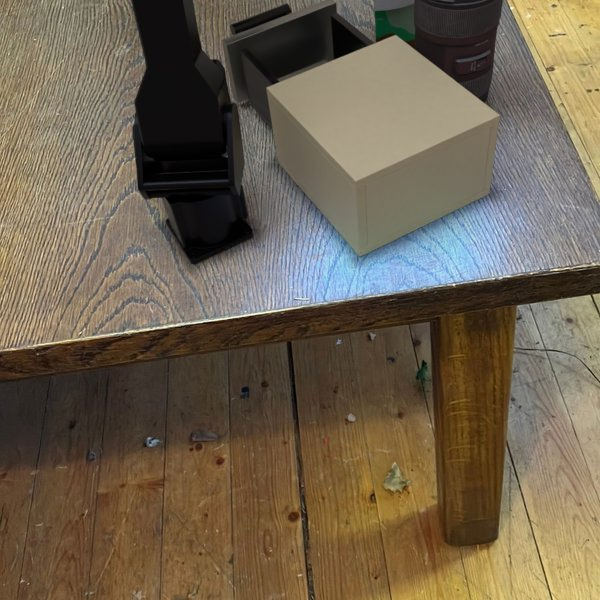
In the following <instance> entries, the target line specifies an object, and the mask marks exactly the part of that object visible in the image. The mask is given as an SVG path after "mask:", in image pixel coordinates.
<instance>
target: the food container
mask: <svg viewBox="0 0 600 600" xmlns="http://www.w3.org/2000/svg"><path fill="white" fill-rule="evenodd" d="M373 11H374V25H375V28H374V29H375V43H377V42H379V41H382V40H384V39H387V38H389V37H392V36H394V35H397V36H398V37H399V38H400V39H402V40H403V41H404V42H406V43H407V44H408V45H409V46H411V47H412V48H413V49H414V44H415V26H414V0H373Z"/></svg>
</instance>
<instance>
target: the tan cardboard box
mask: <svg viewBox="0 0 600 600" xmlns="http://www.w3.org/2000/svg"><path fill="white" fill-rule="evenodd" d="M374 43H375V44H372V45H370V46H367V47H365V48H362V49H360V50H357V51H355V52H352V53H350V54H348V55H345V56H343V57H340V58H338V59H335V60H333V61H330V62H328V63H325V64H323V65H321V66H318V67H316V68H313V69H311V70H308V71H306V72H303V73H301V74H298V75H296V76H294V77H291V78H289V79H286V80H284V81H281V82H279V83H276V84H274V85H271V86H269V87H267V88H266V90H267V95H268V102H269V109H270V115H271V121H272V127H273V130H272V134H273V139H274V145H275V151H276V156H277V163H278V165H280V167H281V168H282V169H283V170H284V171H285V173H286V174H288V176H289V177H290V178H291V180H293V182H294V183H295V184H296V185H297V186H298V187H299V189H300V190H301V191H302V192H303V193H304V194H305V196H306V197H307V198H308V199H309V200H310V202H312V204H313V205H314V206H315V207H316V209H318V211H320V212H321V214H322V216H324V217H325V219H326V220H327V221H328V222H329V223H330V225H332V227H333V228H334V229H335V231H337V232H338V234H339V235H340V236H341V237H342V239H344V241H345V242H346V243H347V244H348V245H349V247H351V249H352V250H353V251H354V252H355V254H357V256H358V257H359V258H361V257H363V256H365V255H367V254H369V253H371V252H373V251H376V250H377V249H380V248H381V247H384V246H385V245H388V244H390V243H391V242H394V241H396V240H398V239H400V238H402V237H404V236H406V235H408V234H411V233H412V232H414V231H417V230H419V229H420V228H422V227H424V226H427V225H429V224H431V223H432V222H435V221H437V220H439V219H440V218H443V217H445V216H448V215H449V214H451V213H453V212H455V211H458V210H460V209H462V208H464V207H466V206H468V205H470V204H472V203H474V202H476V201H478V200H480V199H482V198H484V197H486V196H488V195H490V192H491V185H492V178H493V169H494V162H495V155H496V148H497V142H498V141H497V140H498V134H499V125H500V119H501V117H500V116H501V115H500V114H499V113H498V112H496V111H495V110H494V109H493V108H491V107H490V106H489V105H487V104H486V102H485V103H483V102H482V101H481V100H479V99H478V98H477V97H476V96H474V95H473V94H472V93H470V92H469V91H468V90H467V89H465V88H464V87H463V86H461V85H460V84H459V83H457V82H456V81H455V80H454V79H452V78H451V77H450V76H448V75H447V74H446V73H444V72H443V71H442V70H441V69H439V68H438V67H437V66H435V65H434V64H433V63H432V62H430V61H429V60H428V59H426V58H425V57H424V56H422V55H421V54H420V53H419V52H417V51H416V50H415V49H413V48H412V47H411V46H409V45H408V44H407V43H406V42H404V41H403V40H402V39H400V38H399V37H398V36H397V35H394V36H392V37H389V38H387V39H384V40H382V41H379V42H377V43H376V42H374Z"/></svg>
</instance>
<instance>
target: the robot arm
mask: <svg viewBox="0 0 600 600" xmlns="http://www.w3.org/2000/svg"><path fill="white" fill-rule="evenodd" d="M130 2H131V6H132V10H133V15H134V19H135V24H136V27H137V33H138V37H139V41H140V45H141V49H142V53H143V59H144V63H145V70H144V72H143V75H142V78H141V81H140V84H139V87H138V90H137V93H136V95H135V98H134V110H135V112H134V118H133V119H134V123H133V124H132V126H131V132H132V141H133V151H134V161H135V168H136V181H137V190H138V192H139V193H140V195H141V197H142V198H143V200H145V201H146V200H152V199H161V201H162V204H163V207H164V209H165V212H166V215H167V218H166V220H165V225H166V227H167V228H168V230H169V231H170V233H171V235H172V237H173V238H174V240H175V241H176V242H177V244H178V245H179V248H180V249H181V250H182V252H183V254H184V255H185V257H186V259H187V260H188V262H189V263H191V264H197V263H199V262H201V261H203V260H206V259H207V258H209V257H212V256H214V255H216V254H218V253H220V252H223V251H225V250H227V249H229V248H232V247H234V246H236V245H237V244H240V243H243V242H244V241H247V240H248V239H251V238H252V237H253V236H254V230H253V229H252V227H251V225H250V224H249V223H248V222H247V219H249V216H250V213H249V209H248V204H247V200H246V195H245V191H244V186H243V184H242V183H243V176H244V169H245V164H246V163H245V161H246V160H245V151H244V145H243V143H244V142H243V136H242V127H241V120H240V119H241V118H240V113H239V112H240V111H239V108H238V105H237V102H235V101H234V102H232V101H231V100H232V99H231V95H230V91H229V86H228V80H227V75H226V74H227V73H226V69H225V66H224V65H223V63H222V62H221V61H220V59H218V58H216V59H211V57H210V56H209V55H208V54H207V53H206V51H204V50H203V48H202V44H201V38H200V33H199V28H198V22H197V21H198V20H197V16H196V11H195V6H194V5H195V4H194V0H130Z"/></svg>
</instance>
